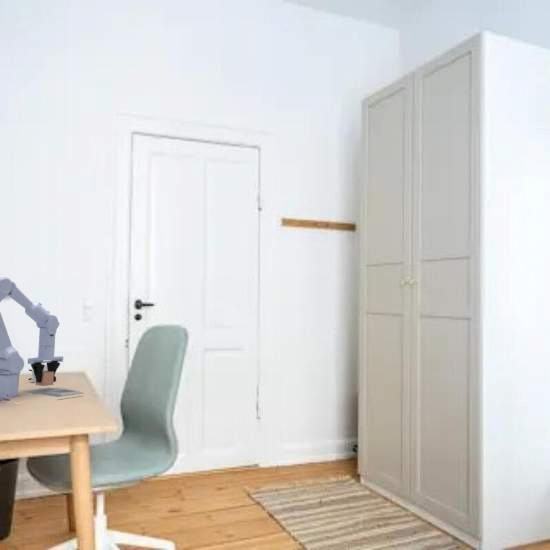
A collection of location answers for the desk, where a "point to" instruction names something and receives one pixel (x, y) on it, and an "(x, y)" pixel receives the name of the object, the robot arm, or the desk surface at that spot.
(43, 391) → the board
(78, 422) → the desk surface
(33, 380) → the toy
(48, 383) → the block
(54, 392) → the locating frame
